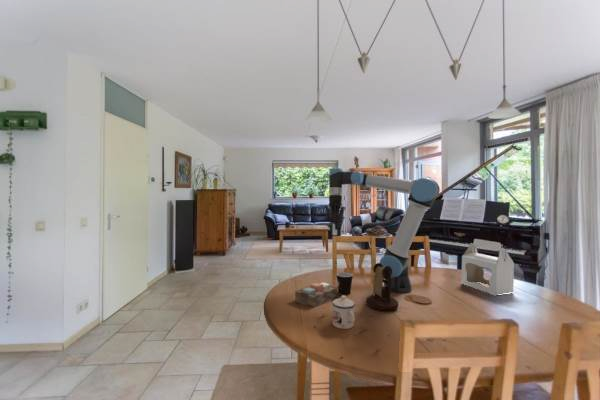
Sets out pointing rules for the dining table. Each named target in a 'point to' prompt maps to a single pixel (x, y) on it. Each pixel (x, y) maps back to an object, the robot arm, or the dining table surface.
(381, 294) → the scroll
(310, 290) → the grey key
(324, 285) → the cream key
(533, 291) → the dining table surface
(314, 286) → the terracotta key
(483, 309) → the dining table surface
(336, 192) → the robot arm
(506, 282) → the gable box
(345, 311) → the teacup with lid
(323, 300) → the key box
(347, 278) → the coffee mug
